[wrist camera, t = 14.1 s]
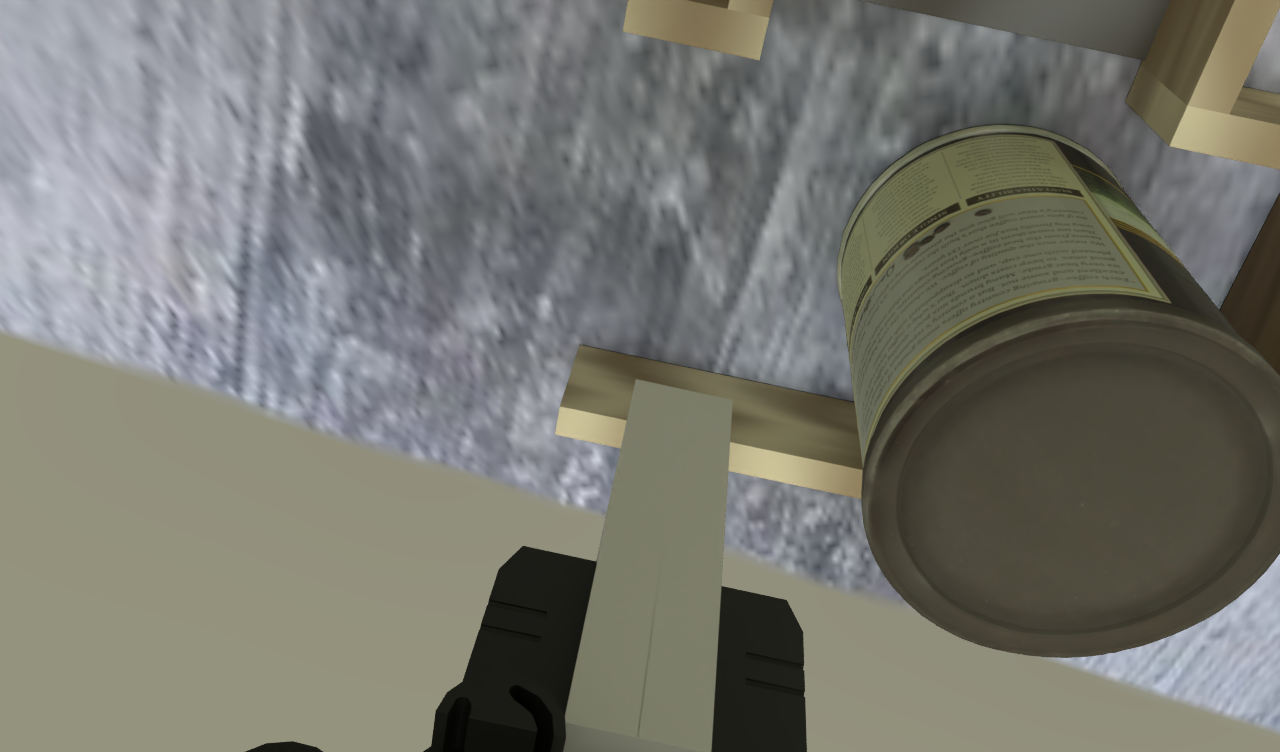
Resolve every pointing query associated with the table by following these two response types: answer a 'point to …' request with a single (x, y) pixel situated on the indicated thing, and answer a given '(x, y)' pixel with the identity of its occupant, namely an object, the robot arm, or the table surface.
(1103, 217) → the coffee can
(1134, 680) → the table surface
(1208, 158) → the table surface
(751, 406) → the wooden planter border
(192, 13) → the table surface
